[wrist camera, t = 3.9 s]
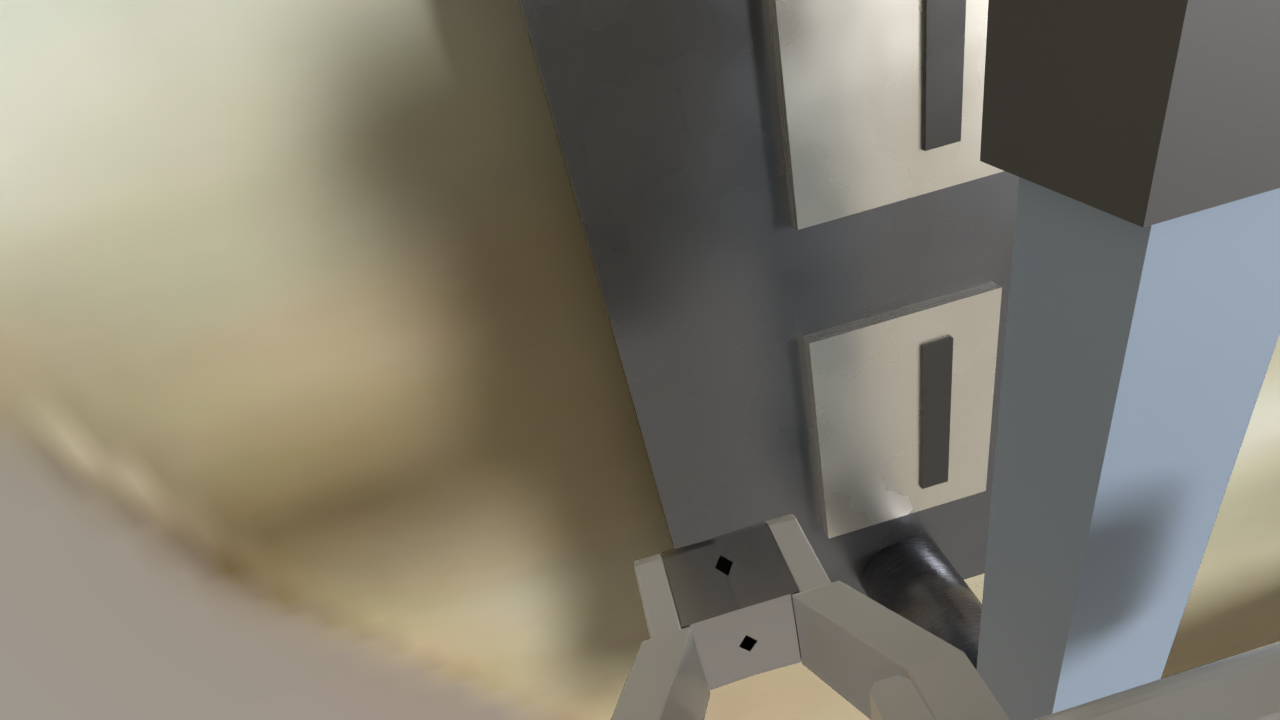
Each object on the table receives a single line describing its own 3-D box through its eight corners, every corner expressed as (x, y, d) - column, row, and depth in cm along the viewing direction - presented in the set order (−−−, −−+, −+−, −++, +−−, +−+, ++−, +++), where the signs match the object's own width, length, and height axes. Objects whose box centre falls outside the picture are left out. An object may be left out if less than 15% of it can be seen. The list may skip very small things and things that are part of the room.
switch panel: (394, -438, 10) (281, -880, 5) (1139, -616, 11) (1777, -1194, 5) (694, 622, 24) (750, 808, 19) (1011, 525, 24) (1152, 679, 19)
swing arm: (1058, 735, 19) (1140, 848, 16) (936, 775, 19) (1000, 894, 16) (1280, -275, 7) (1652, -388, 5) (973, -195, 7) (1205, -272, 5)
